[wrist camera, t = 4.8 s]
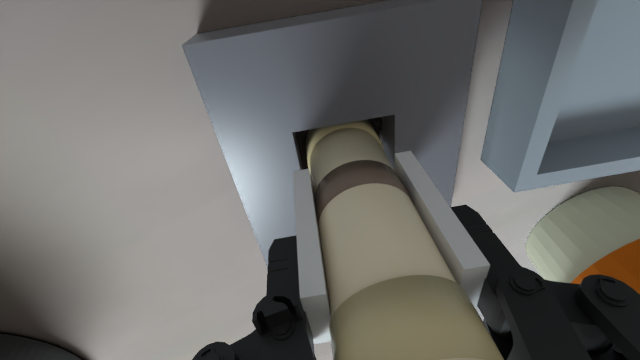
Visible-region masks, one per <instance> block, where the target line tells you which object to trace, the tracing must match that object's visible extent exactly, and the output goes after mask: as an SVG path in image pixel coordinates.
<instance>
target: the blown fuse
mask: <svg viewBox="0 0 640 360" xmlns="http://www.w3.org/2000/svg"><path fill="white" fill-rule="evenodd" d="M305 147H306V155H307V163H308V169H309V171H310V175H311V178H312V185H313V192H314V202H315V209H316V216H317V223H318V228H319V235H320V242H321V249H322V256H323V263H324V270H325V278H326V285H327V292H328V299H329V306H330V313H331V320H330V324H329V331H330V339H331V346H332V354H333V360H504V358H503V357H502V355H501V353H500V351H499V350H498V348H497V346H496V344H495V342H494V341H493V339H492V337H491V335H490V334H489V332H488V330H487V328H486V327H485V325H484V323H483V321H482V319H481V318H480V316H479V314H478V312H477V311H476V309H475V307H474V305H473V304H472V302H471V300H470V298H469V296H468V295H467V293H466V291H465V290H464V289H463V288H462V287H461V286H460V285H459V284H457V282H456V280H455V279H454V277H453V275H452V273H451V271H450V270H449V268H448V266H447V264H446V262H445V261H444V259H443V257H442V255H441V253H440V252H439V250H438V248H437V246H436V244H435V242H434V241H433V239H432V237H431V235H430V233H429V232H428V230H427V228H426V226H425V224H424V223H423V221H422V219H421V217H420V215H419V213H418V212H417V210H416V208H415V205H414V202H413V200H412V198H411V196H410V195H409V193H408V191H407V189H406V187H405V186H404V184H403V182H402V180H401V178H400V177H399V175H398V174H397V172H396V171H395V170H394V168H393V166H392V165H391V163H390V161H389V159H388V157H387V156H386V154H385V152H384V148H383V145H382V142H381V141H380V139H379V137H378V135H377V134H376V132H375V130H374V128H373V126H372V125H371V123H370V122H369V121H368V120H367V119H366V120H360V121H355V122H349V123H343V124H338V125H332V126H326V127H321V128H315V129H309V131H308V133H307V136H306V141H305Z"/></svg>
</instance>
